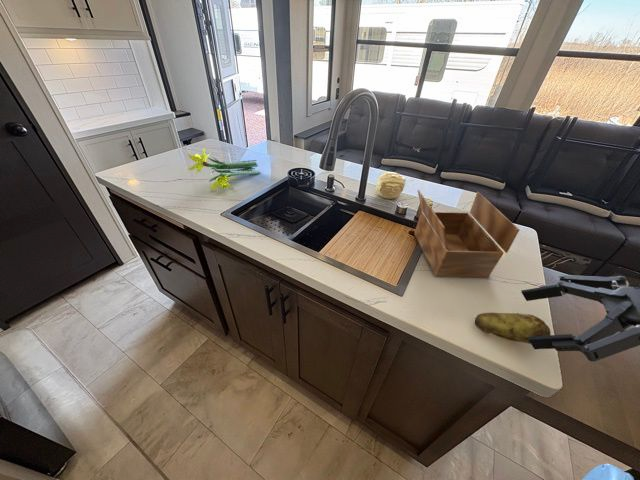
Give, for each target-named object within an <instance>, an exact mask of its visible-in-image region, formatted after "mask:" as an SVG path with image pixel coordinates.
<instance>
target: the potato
mask: <svg viewBox="0 0 640 480" xmlns="http://www.w3.org/2000/svg"><path fill="white" fill-rule="evenodd" d="M474 325H475V326H476V328H477V329H479V331H481V332H483V333H485V334H491V335H494V336H495V337H499V338H500V339H504V340H508V341H512V342H517V343H518V342H519V343H523V344H524V343H525V344H529V345H531V343H530V342H529V340H528V337H531V336H547V335H551V329H550V327H549V326H548V325H547V323H546V322H545V321H544V320H543V319H541V318H540V317H538V316H536V315H534V314H528V313H519V312H491V311H489V312H481V313H479V314H477V315H476V317H475V318H474Z"/></svg>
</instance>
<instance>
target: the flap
mask: <svg viewBox="0 0 640 480" xmlns="http://www.w3.org/2000/svg"><path fill="white" fill-rule="evenodd" d="M417 195H418V199H419V204H420V205H419V206H420V210H421V212H422V211H423V213H424V215H425V216H426V218H427V219H428V221H429V223H430V224H431V226H432V227H433V229H434V231H435V232H436V234H437V235H438V237H439V238H440V240H441V242H442V243H443V245H444V246H445V248H446V250H447V249H448V246H447V239H446V232H445V227H444V226H443V224H442V223H441V221H440V220H439V218H438V217H437V215H436V214H435V213H434V212H435V210H433V208H432V207H431V205H430V204H429V202H428V201H427V199H426V198H425V197H424V195H423V194H422V192H421V190H420V189H418V190H417Z"/></svg>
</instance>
